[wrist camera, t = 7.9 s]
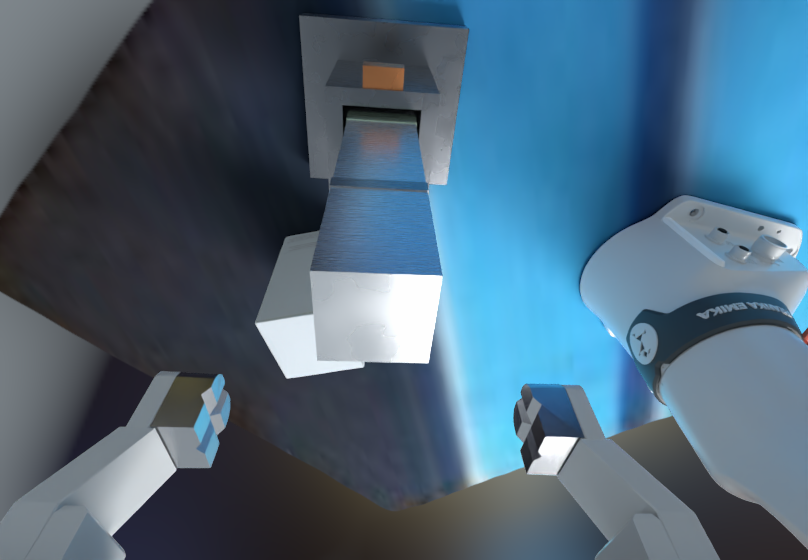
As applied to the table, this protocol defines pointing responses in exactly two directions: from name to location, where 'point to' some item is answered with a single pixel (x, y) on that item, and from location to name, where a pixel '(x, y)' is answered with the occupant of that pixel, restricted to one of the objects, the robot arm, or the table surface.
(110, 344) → the table surface
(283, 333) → the supplement box
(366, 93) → the stand
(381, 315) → the column
